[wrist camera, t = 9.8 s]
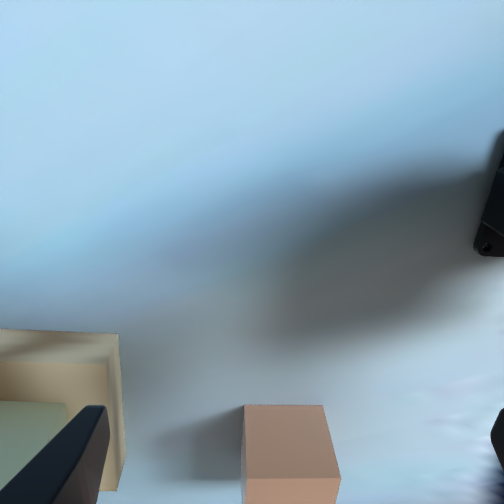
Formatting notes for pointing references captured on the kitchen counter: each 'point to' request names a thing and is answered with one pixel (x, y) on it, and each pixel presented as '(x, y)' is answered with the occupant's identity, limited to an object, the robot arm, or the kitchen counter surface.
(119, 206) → the kitchen counter surface
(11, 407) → the sage cube
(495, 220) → the robot arm
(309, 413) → the terracotta cube
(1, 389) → the oak block
